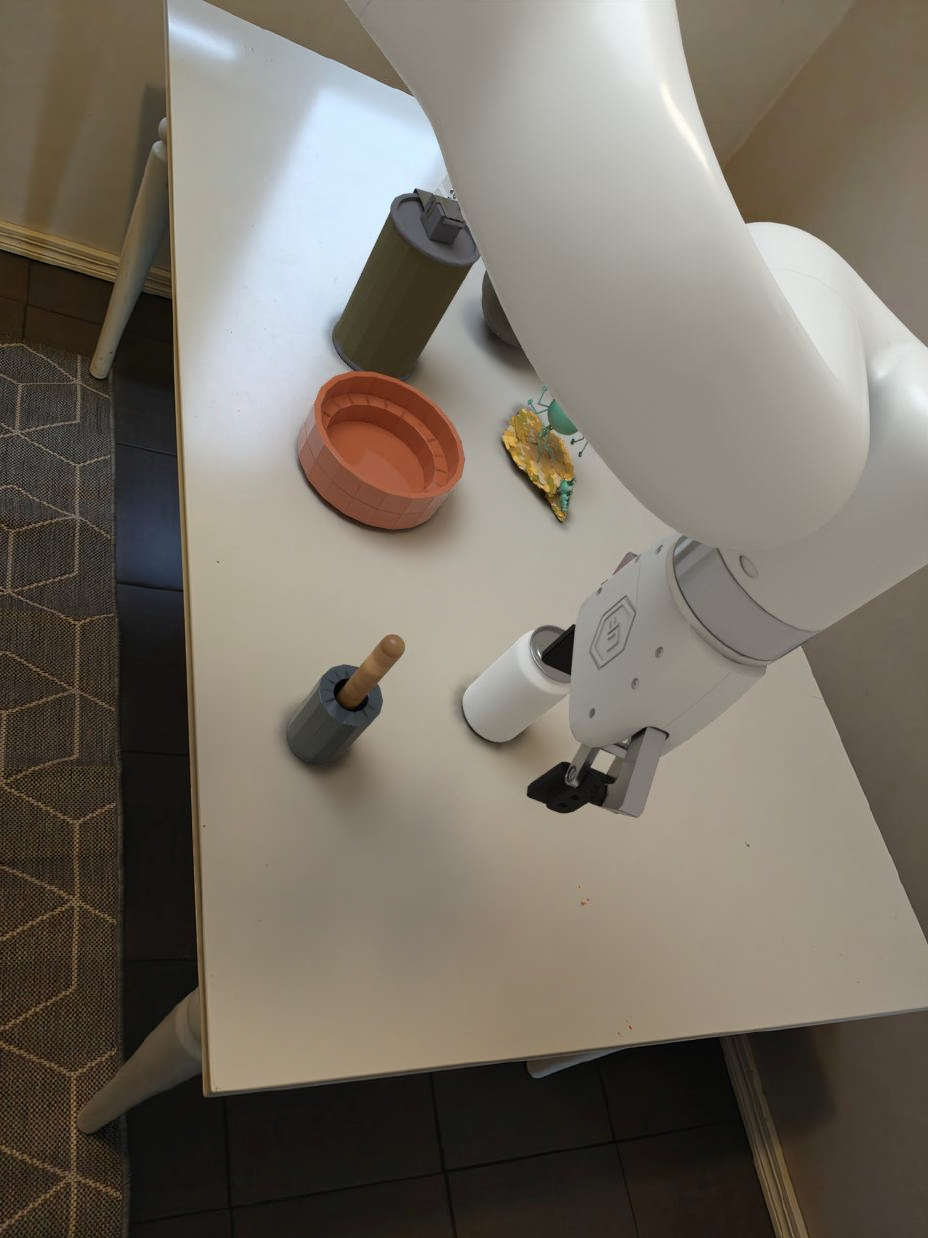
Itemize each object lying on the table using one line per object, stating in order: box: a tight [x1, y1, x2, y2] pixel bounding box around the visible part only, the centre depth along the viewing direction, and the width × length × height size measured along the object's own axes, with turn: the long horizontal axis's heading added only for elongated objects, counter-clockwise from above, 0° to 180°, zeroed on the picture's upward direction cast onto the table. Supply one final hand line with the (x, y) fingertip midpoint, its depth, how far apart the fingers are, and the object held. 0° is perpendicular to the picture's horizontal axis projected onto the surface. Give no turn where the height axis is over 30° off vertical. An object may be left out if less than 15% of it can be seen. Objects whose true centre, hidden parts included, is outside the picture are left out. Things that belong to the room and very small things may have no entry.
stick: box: [335, 633, 406, 712], centre depth 65 cm, size 2×2×16 cm
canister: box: [331, 187, 481, 382], centre depth 94 cm, size 11×10×20 cm
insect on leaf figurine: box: [501, 386, 589, 522], centre depth 100 cm, size 10×18×15 cm, turn 5°
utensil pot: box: [286, 663, 384, 766], centre depth 68 cm, size 5×5×8 cm
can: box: [462, 624, 571, 743], centre depth 77 cm, size 6×6×12 cm
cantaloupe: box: [480, 269, 522, 348], centre depth 110 cm, size 14×14×15 cm
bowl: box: [297, 370, 466, 530], centre depth 88 cm, size 16×16×6 cm
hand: (554, 729), depth 53 cm, fingers open, 9 cm apart
